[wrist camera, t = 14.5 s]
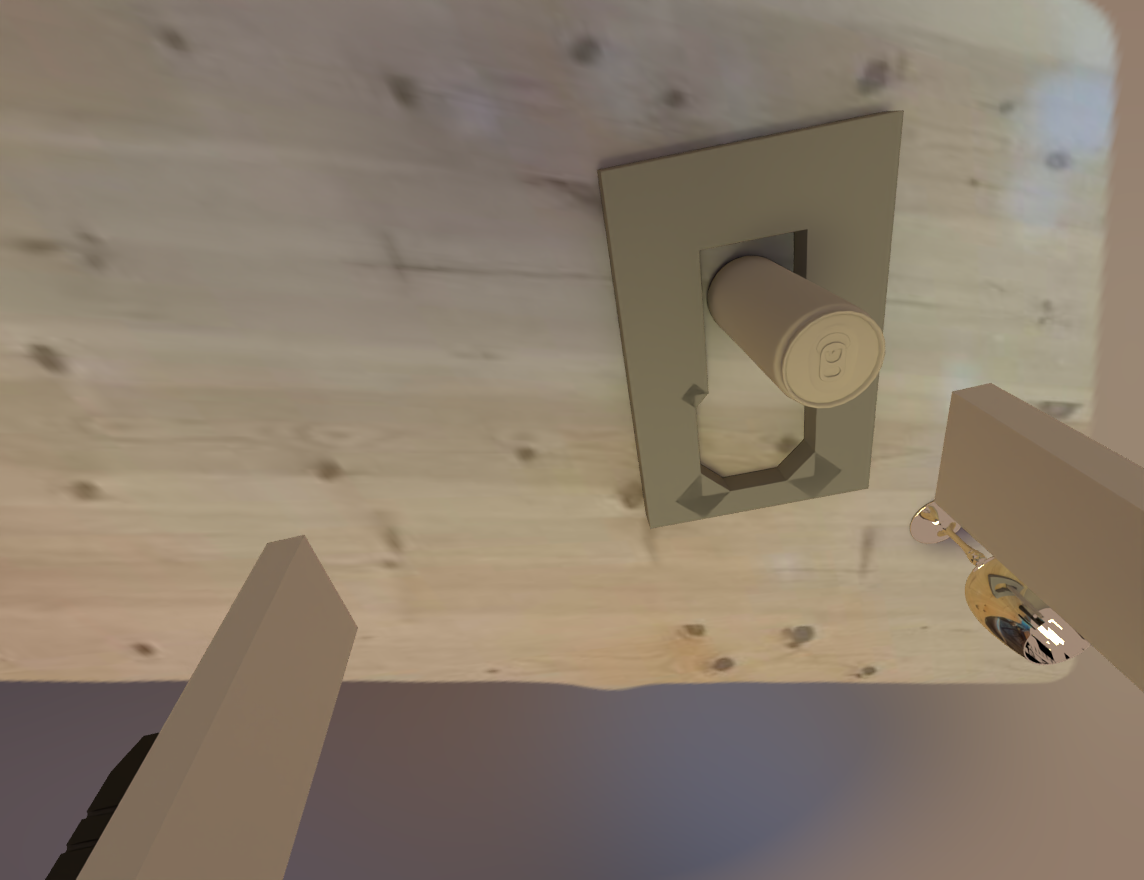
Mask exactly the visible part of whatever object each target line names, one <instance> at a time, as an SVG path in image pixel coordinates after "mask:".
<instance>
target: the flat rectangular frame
mask: <svg viewBox="0 0 1144 880" xmlns="http://www.w3.org/2000/svg"><path fill="white" fill-rule="evenodd" d="M903 112H904V110H902V111H886V112H880V113H875V114H870V115H865V116H860V117H855V118H850V119H845V120H841V121H836V122H831V123H826V124H821V125H816V126H811V127H806V128H801V129H796V130H791V131H786V132H781V133H776V134H771V135H767V136H762V137H757V138H752V139H747V140H742V141H737V142H732V143H727V144H722V145H717V146H712V147H707V148H702V149H697V150H693V151H688V152H683V153H678V154H673V155H668V156H663V157H658V158H653V159H648V160H643V161H638V162H633V163H628V164H623V165H619V166H614V167H609V168H604V169H599V170H597V173H598V180H599V187H600V194H601V201H602V208H603V215H604V222H605V229H606V236H607V243H608V250H609V258H610V265H611V272H612V279H613V286H614V293H615V300H616V307H617V314H618V321H619V328H620V335H621V342H622V349H623V356H624V363H625V370H626V377H627V384H628V391H629V398H630V405H631V412H632V419H633V426H634V433H635V441H636V448H637V455H638V462H639V469H640V476H641V483H642V490H643V497H644V504H645V511H646V516H647V519H648V522H649V526H650V529H652V528H657V527H663V526H668V525H673V524H679V523H684V522H690V521H695V520H700V519H706V518H711V517H716V516H722V515H727V514H733V513H738V512H743V511H749V510H754V509H760V508H765V507H770V506H776V505H781V504H787V503H792V502H797V501H803V500H808V499H814V498H819V497H824V496H830V495H835V494H841V493H846V492H851V491H857V490H862V489H867V488H868V486H869V476H870V465H871V454H872V443H873V433H874V422H875V411H876V401H877V390H878V379H879V372H878V374H877V376H876V378H875V379H874V380H873V382H872V383H871V384H870V385H869V386H868V388H867V389H866V390H864V391H863V392H862V393H861V394H859V395H858V396H857V397H856V398H854V399H852V400H850V401H848V402H846V403H844V404H842V405H838V406H835V407H831V408H813V407H808V406H805V420H804V440H803V441H802V442H801V443H800V444H799V445H798V446H797V447H796V448H795V449H794V450H793V451H792V452H791V454H790V455H789V456H788V457H787V458H786V459H785V460H784V461H783V462H782V463H781V464H780V465H779V466H778V467H777V468H772V469H767V470H762V471H756V472H751V473H746V474H740V475H735V476H730V477H724V478H722V477H720V476H719V475H717V474H716V473H714V472H712V471H711V470H709V469H708V468H706V467H704V466H703V465H701V464H700V456H699V443H698V431H697V418H696V407H697V406H698V405H699V404H700V403H701V401H702V400H703V399H704V398H705V397H706V396H707V394H708V378H707V363H706V348H705V333H704V318H703V303H702V288H701V272H700V257H699V250H704V249H709V248H714V247H719V246H724V245H729V244H734V243H739V242H744V241H750V240H755V239H760V238H765V237H770V236H775V235H780V234H785V233H790V232H794V273H795V274H797V275H799V276H801V277H803V278H805V279H807V280H809V281H810V282H812V283H814V284H816V285H818V286H820V287H822V288H824V289H826V290H828V291H829V292H831V293H833V294H835V295H837V296H839V297H841V298H843V299H845V300H847V301H848V302H850V303H852V304H854V305H856V306H857V307H859V308H861V309H862V310H864V311H865V312H867V313H868V314H869V316H870V317H871V318H872V319H873V320H874V321H875V322H876V323H877V325H878V326H879V327H880V328H881V330H882V333H883V326H884V315H885V305H886V294H887V283H888V273H889V262H890V251H891V241H892V230H893V219H894V209H895V198H896V187H897V176H898V166H899V155H900V144H901V134H902V123H903Z"/></svg>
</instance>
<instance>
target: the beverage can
mask: <svg viewBox="0 0 1144 880" xmlns="http://www.w3.org/2000/svg"><path fill="white" fill-rule="evenodd" d="M707 303H708V307H709V311H710V313H711V315H712V317H713V319H714V321H715V322H716V323H717V324H718V325H719V326H720V327H721V328H722V329H723V330H724V331H725V332H726V333H727V334H728V335H729V336H730V337H731V338H732V340H733V341H734V342H735V343H736V344H737V345H738V346H739V347H740V348H741V349H742V350H743V351H744V352H745V353H746V354H747V355H748V356H749V357H750V358H751V359H752V360H753V361H754V362H755V363H756V364H757V365H758V367H759V368H760V369H761V370H762V371H763V372H764V373H765V374H766V375H767V376H768V377H769V378H770V379H771V380H772V381H773V382H774V383H775V384H776V385H777V386H778V387H779V388H780V390H781V391H782V392H783V393H784V394H785V395H786V396H788V397H790V398H791V399H793V400H795V401H797V402H799V403H801V404H803V405H805V406H808V407H813V408H831V407H835V406H838V405H842V404H844V403H846V402H848V401H850V400H852V399H854V398H856V397H857V396H858V395H859V394H861V393H862V392H863V391H864V390H866V389H867V388H868V386H869V385H870V384H871V383H872V382H873V380H874V379H875V378H876V376H877V374H878V372H879V370H880V368H881V367H882V364H883V360H884V356H885V339H884V336H883V333H882V330H881V328H880V327H879V326H878V325H877V323H876V322H875V321H874V320H873V319H872V318H871V317H870V316H869V314H868V313H867V312H865V311H864V310H862V309H861V308H859V307H857V306H856V305H854V304H852V303H850V302H848V301H847V300H845V299H843V298H841V297H839V296H837V295H835V294H833V293H831V292H829V291H828V290H826V289H824V288H822V287H820V286H818V285H816V284H814V283H812V282H810V281H809V280H807V279H805V278H803V277H801V276H799V275H797V274H795V273H793V272H792V271H790V270H788V269H786V268H784V267H782V266H780V265H778V264H776V263H774V262H773V261H771V260H769V259H767V258H764V257H760V256H744V257H741V258H737V259H735V260H733V261H731V262H730V263H728V264H726V265H725V266H724V267H723V268H722V269H721V270H720V271H719V272H718V273H717V274H716V276H715V278H714V279H713V281H712V282H711V285H710V288H709V291H708V301H707Z"/></svg>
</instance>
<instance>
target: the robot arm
mask: <svg viewBox="0 0 1144 880" xmlns="http://www.w3.org/2000/svg"><path fill="white" fill-rule="evenodd" d="M934 502H935V503H936V504H937V505H938V506H939V507H940V508H941V509H942V510H943V511H945V512H946V513H947V514H948V515H949V516H950V517H951V518H952V519H953V520H954V521H956V522H957V523H958V524H959V525H960V526H961V527H962V528H963V529H964V530H965V531H967V532H968V533H969V534H970V535H971V536H972V537H973V538H974V539H975V540H976V541H978V542H979V543H980V544H981V545H982V546H983V547H984V548H985V549H986V550H987V551H989V552H990V553H991V554H992V555H993V556H994V557H995V558H996V559H997V560H998V561H1000V562H1001V563H1002V564H1003V565H1004V566H1005V567H1006V568H1007V569H1008V570H1009V571H1011V572H1012V573H1013V574H1014V575H1015V576H1016V577H1017V578H1018V579H1019V580H1020V581H1022V582H1023V583H1024V584H1025V585H1026V586H1027V587H1028V588H1029V589H1030V590H1031V591H1033V592H1034V593H1035V594H1036V595H1037V596H1038V597H1039V598H1040V599H1041V600H1042V601H1043V602H1045V603H1046V604H1047V605H1048V606H1049V607H1050V608H1051V609H1052V610H1053V611H1054V612H1056V613H1057V614H1058V615H1059V616H1060V617H1061V618H1062V619H1063V620H1064V621H1065V622H1067V623H1068V624H1069V625H1070V626H1071V627H1072V628H1073V629H1074V630H1075V631H1076V632H1078V633H1079V634H1080V635H1081V636H1082V637H1083V638H1084V639H1085V640H1086V641H1087V642H1089V643H1090V644H1091V645H1092V646H1093V647H1094V648H1095V649H1096V650H1097V651H1098V652H1100V653H1101V654H1102V655H1103V656H1104V657H1105V658H1106V659H1107V660H1108V661H1110V662H1111V663H1112V664H1113V665H1114V666H1115V667H1116V668H1117V669H1118V670H1119V671H1121V672H1122V673H1123V674H1124V675H1125V676H1126V677H1127V678H1128V679H1129V680H1130V681H1131V682H1133V683H1134V684H1135V685H1136V686H1137V687H1138V688H1139V689H1140V690H1141V691H1142V692H1144V468H1143V467H1141V466H1139V465H1138V464H1135V463H1134V462H1132V461H1130V460H1129V459H1127V458H1125V457H1123V456H1121V455H1119V454H1118V453H1116V452H1114V451H1112V450H1111V449H1109V448H1107V447H1105V446H1103V445H1101V444H1100V443H1098V442H1096V441H1094V440H1092V439H1091V438H1089V437H1087V436H1085V435H1083V434H1082V433H1080V432H1078V431H1076V430H1074V429H1073V428H1071V427H1069V426H1067V425H1065V424H1064V423H1062V422H1060V421H1058V420H1056V419H1055V418H1053V417H1051V416H1049V415H1047V414H1046V413H1044V412H1042V411H1040V410H1038V409H1037V408H1035V407H1033V406H1031V405H1029V404H1028V403H1026V402H1024V401H1022V400H1020V399H1019V398H1017V397H1015V396H1013V395H1011V394H1010V393H1008V392H1006V391H1004V390H1002V389H1001V388H999V387H997V386H995V385H993V384H992V383H989V384H984V385H980V386H975V387H971V388H966V389H962V390H957V391H953V392H952V396H951V402H950V408H949V414H948V421H947V427H946V433H945V439H944V445H943V451H942V457H941V464H940V470H939V476H938V482H937V488H936V494H935V500H934ZM357 629H358V627H357V625H356V624H355V622H354V620H353V618H352V617H351V615H350V613H349V611H348V610H347V608H346V606H345V604H344V603H343V601H342V599H341V598H340V596H339V594H338V592H337V591H336V589H335V587H334V585H333V584H332V582H331V580H330V578H329V577H328V575H327V573H326V571H325V570H324V568H323V566H322V565H321V563H320V561H319V559H318V558H317V556H316V554H315V552H314V551H313V549H312V547H311V545H310V544H309V542H308V540H307V538H306V537H305V535H302V536H297V537H293V538H288V539H283V540H279V541H274V542H270V543H267V545H266V546H265V548H264V550H263V552H262V554H261V555H260V557H259V559H258V561H257V562H256V564H255V566H254V568H253V569H252V571H251V573H250V575H249V576H248V578H247V580H246V582H245V583H244V585H243V587H242V589H241V590H240V592H239V594H238V596H237V597H236V599H235V601H234V603H233V604H232V606H231V608H230V610H229V612H228V613H227V615H226V617H225V619H224V620H223V622H222V624H221V626H220V627H219V629H218V631H217V633H216V634H215V636H214V638H213V640H212V641H211V643H210V645H209V647H208V648H207V650H206V652H205V654H204V655H203V657H202V659H201V661H200V663H199V664H198V666H197V668H196V670H195V671H194V673H193V675H192V677H191V678H190V680H189V682H188V684H187V686H186V687H185V689H184V691H183V693H182V694H181V696H180V698H179V700H178V701H177V703H176V705H175V707H174V708H173V710H172V712H171V714H170V716H169V717H168V719H167V721H166V722H165V724H164V726H163V728H162V729H161V731H160V733H155V734H151V735H146V736H143V737H142V739H141V740H140V741H139V742H138V743H137V744H136V745H135V746H134V747H133V748H132V749H131V751H130V752H129V753H128V754H127V755H126V756H125V757H124V758H123V759H122V760H121V761H120V763H119V764H118V765H117V766H116V767H115V768H114V769H113V770H112V771H111V773H110V774H109V776H108V777H107V779H106V781H105V782H104V784H103V786H102V787H101V789H100V791H99V792H98V794H97V796H96V797H95V799H94V801H93V802H92V804H91V806H90V807H89V809H88V810H87V813H88V816H87V818H86V819H82V820H81V822H80V824H79V825H78V827H77V828H76V830H75V832H74V833H73V835H72V837H71V838H70V840H69V842H68V843H67V851H66V852H65V853H63V854H61V855H60V857H59V858H58V860H57V861H56V863H55V865H54V866H53V868H52V869H51V871H50V873H49V874H48V876H47V878H46V879H45V880H283V877H284V874H285V870H286V867H287V864H288V860H289V857H290V854H291V850H292V847H293V843H294V840H295V836H296V833H297V830H298V826H299V823H300V819H301V817H302V813H303V809H304V806H305V803H306V800H307V796H308V793H309V790H310V786H311V783H312V780H313V776H314V773H315V770H316V766H317V763H318V759H319V756H320V753H321V749H322V746H323V743H324V739H325V736H326V733H327V729H328V726H329V723H330V719H331V716H332V713H333V709H334V706H335V702H336V699H337V695H338V692H339V689H340V686H341V682H342V679H343V676H344V672H345V669H346V666H347V662H348V659H349V656H350V652H351V649H352V645H353V642H354V639H355V635H356V632H357Z"/></svg>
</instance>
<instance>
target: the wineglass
mask: <svg viewBox="0 0 1144 880" xmlns="http://www.w3.org/2000/svg"><path fill="white" fill-rule="evenodd" d="M960 528H961V526H960V525H959V524H958V523H957V522H956V521H954V520H953V519H952V518H951V517H950V516H949V515H948V514H947V513H946V512H945V511H943V510H942V509H941V508H940V507H939V506H938V505H937V504H936V503H935V502H934V501H933V502H930V503H929V504H927V505H925V506H924V507H922V508H921V509H920V510H919V511H918V512H917V513H916V514H915V516H914V517H913V519H912V521H911V524H910V533H911V535H912V537H913V538H914V539H915V540H917V541H918V542H921V543H925V544H932V543H938V542H941V541H944V540H946V539H948V538H951V539H953V540H954V541H955V542H956V543H957V544H958V545H959V546H960V547H961V548H962V549H963V551H964V552H965V554H966V555H967V558H968V559H969V560H970V562H971V563H972V564H974V565H975V566H976V567H975V568H974V569H973V570H972V572H971V573H970V574H969V576H968V578H967V580H966V584H965V598H966V602H967V604H968V606H969V608H970V610H971V611H972V613H973V614H974V616H975V617H976V618H977V620H978V621H979V622H980V623H981V624H982V625H983V626H984V627H985V628H986V629H987V630H988V631H989V632H990V633H991V634H992V635H994V636H995V637H996V638H997V639H999V640H1000V641H1001V642H1002V643H1004V644H1005V645H1006V646H1008V647H1009V648H1011V649H1012V650H1013V651H1015V652H1016V653H1018V654H1019V655H1021V656H1023V657H1024V658H1026V659H1027V660H1029V661H1030V662H1032V663H1035V664H1039V665H1049V664H1056V663H1059V662H1063V661H1066V660H1068V659H1071V658H1073V657H1075V656H1077V655H1078V654H1080V653H1081V652H1083V651H1084V650H1085V649H1087V648H1088V647H1089V646H1090V645H1091V644H1090V643H1089V642H1087V641H1086V640H1085V639H1084V638H1083V637H1082V636H1081V635H1080V634H1079V633H1078V632H1076V631H1075V630H1074V629H1073V628H1072V627H1071V626H1070V625H1069V624H1068V623H1067V622H1065V621H1064V620H1063V619H1062V618H1061V617H1060V616H1059V615H1058V614H1057V613H1056V612H1054V611H1053V610H1052V609H1051V608H1050V607H1049V606H1048V605H1047V604H1046V603H1045V602H1043V601H1042V600H1041V599H1040V598H1039V597H1038V596H1037V595H1036V594H1035V593H1034V592H1033V591H1031V590H1030V589H1029V588H1028V587H1027V586H1026V585H1025V584H1024V583H1023V582H1022V581H1020V580H1019V579H1018V578H1017V577H1016V576H1015V575H1014V574H1013V573H1012V572H1011V571H1009V570H1008V569H1007V568H1006V567H1005V566H1004V565H1003V564H1002V563H1001V562H1000V561H998V560H997V559H996V558H995V557H994V556H992V557H990V558H988V559H987V558H986V557H985V556H984V554H982V553H981V552H979V551H978V550H975V549H974V548H972V547H970V546H969V545H967V544H966V543H965V542H964V541H963V540H962V539H961V538H960V537H959V536H958V535H957V534H956V532H957V531H958V530H959V529H960Z"/></svg>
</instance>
